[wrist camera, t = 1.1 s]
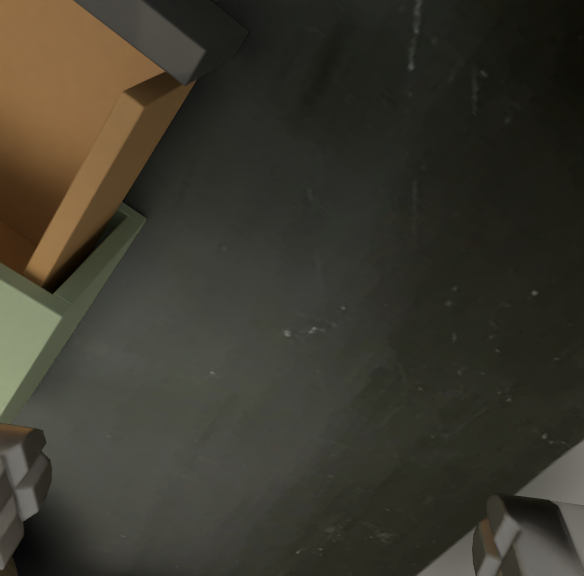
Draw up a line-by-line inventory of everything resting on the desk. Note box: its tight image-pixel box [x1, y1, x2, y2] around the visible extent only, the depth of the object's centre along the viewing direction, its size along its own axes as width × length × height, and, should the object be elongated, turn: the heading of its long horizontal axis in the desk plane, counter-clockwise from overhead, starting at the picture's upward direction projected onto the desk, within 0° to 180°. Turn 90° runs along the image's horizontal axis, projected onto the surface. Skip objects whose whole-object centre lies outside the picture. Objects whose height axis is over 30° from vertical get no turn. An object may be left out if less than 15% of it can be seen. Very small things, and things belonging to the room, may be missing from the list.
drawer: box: [0, 0, 249, 294], centre depth 18 cm, size 19×12×7 cm, turn 143°
